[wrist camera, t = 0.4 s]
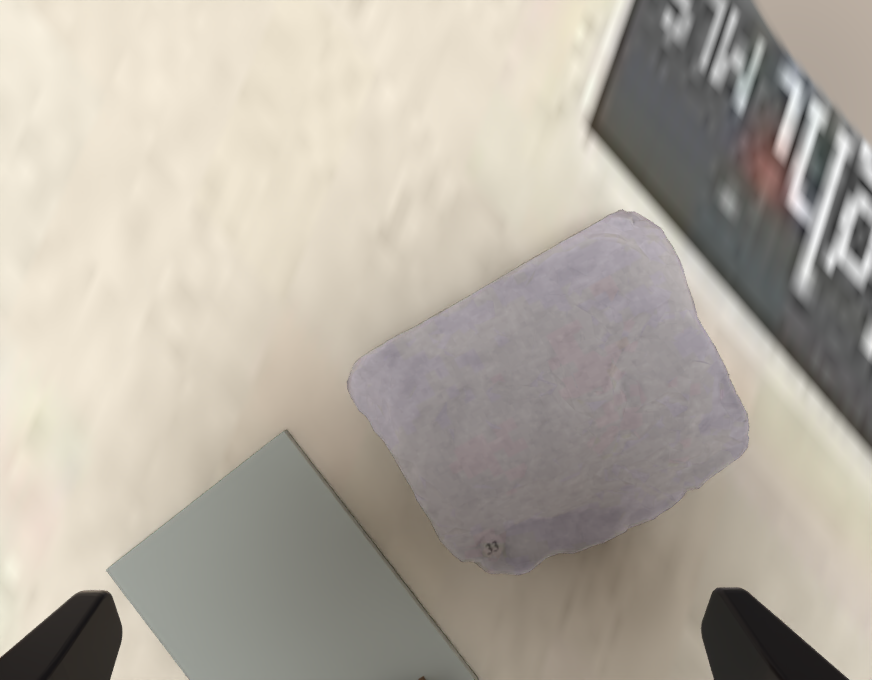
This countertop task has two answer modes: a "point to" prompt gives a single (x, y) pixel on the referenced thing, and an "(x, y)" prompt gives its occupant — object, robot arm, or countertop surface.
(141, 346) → the countertop surface
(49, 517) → the countertop surface
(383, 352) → the stone block
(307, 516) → the rubber mat
